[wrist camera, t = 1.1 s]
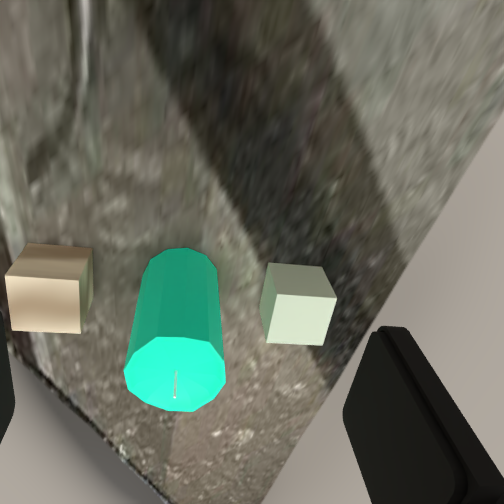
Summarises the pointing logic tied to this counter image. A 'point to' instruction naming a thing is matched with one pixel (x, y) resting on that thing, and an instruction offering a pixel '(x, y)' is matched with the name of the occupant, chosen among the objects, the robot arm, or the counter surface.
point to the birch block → (50, 288)
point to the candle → (177, 333)
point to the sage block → (296, 304)
